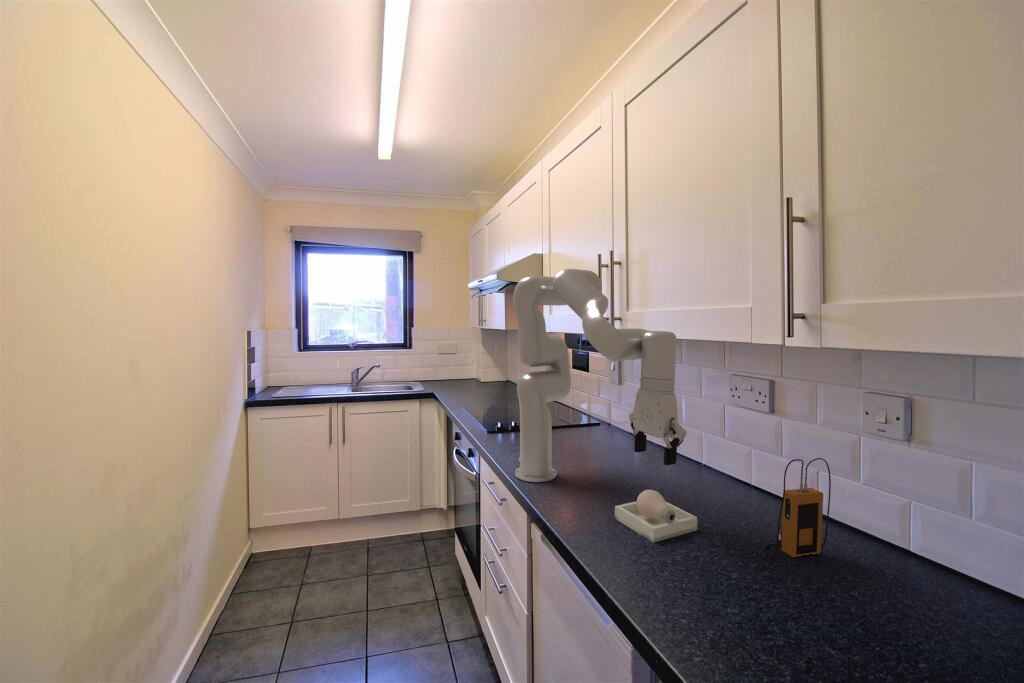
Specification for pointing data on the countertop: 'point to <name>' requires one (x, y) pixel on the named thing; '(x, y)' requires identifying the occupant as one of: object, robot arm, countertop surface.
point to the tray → (656, 522)
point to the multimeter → (802, 518)
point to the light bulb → (654, 506)
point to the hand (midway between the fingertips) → (654, 457)
